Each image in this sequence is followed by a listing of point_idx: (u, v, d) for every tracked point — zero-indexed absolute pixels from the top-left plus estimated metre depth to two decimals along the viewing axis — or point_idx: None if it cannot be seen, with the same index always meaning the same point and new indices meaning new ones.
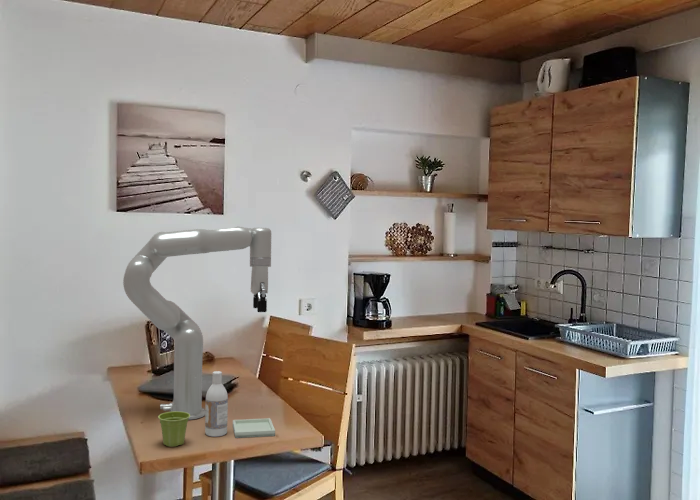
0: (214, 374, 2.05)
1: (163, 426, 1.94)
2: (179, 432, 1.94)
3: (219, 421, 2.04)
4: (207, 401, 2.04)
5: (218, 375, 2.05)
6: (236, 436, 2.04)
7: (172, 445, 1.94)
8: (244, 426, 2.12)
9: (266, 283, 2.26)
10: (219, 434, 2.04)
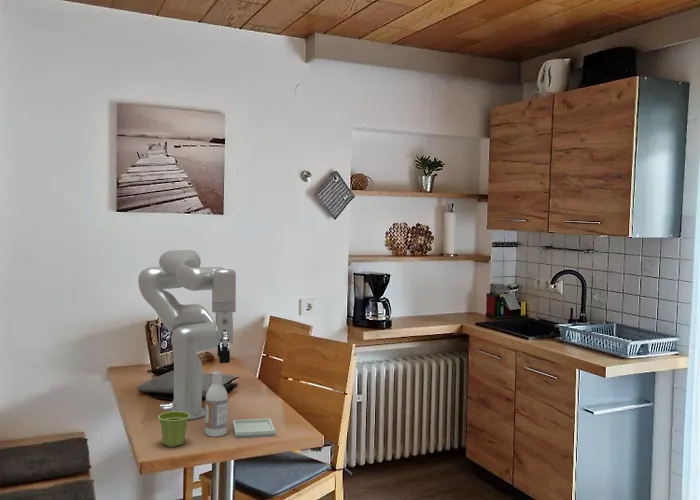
0: (214, 374, 2.05)
1: (163, 426, 1.94)
2: (179, 432, 1.94)
3: (219, 421, 2.04)
4: (207, 401, 2.04)
5: (218, 375, 2.05)
6: (236, 436, 2.04)
7: (172, 445, 1.94)
8: (244, 426, 2.12)
9: None
10: (219, 434, 2.04)
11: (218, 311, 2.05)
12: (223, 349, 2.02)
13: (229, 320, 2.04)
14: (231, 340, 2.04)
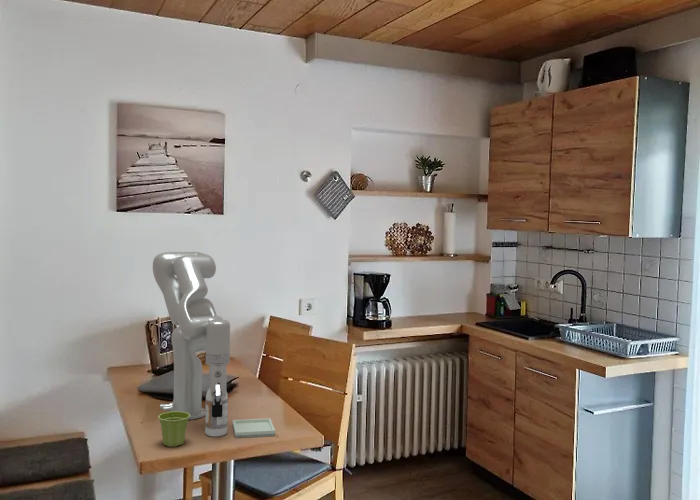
0: None
1: (163, 426, 1.94)
2: (179, 432, 1.94)
3: (219, 421, 2.04)
4: (207, 401, 2.04)
5: None
6: (236, 436, 2.04)
7: (172, 445, 1.94)
8: (244, 426, 2.12)
9: None
10: (219, 434, 2.04)
11: (211, 363, 2.02)
12: (216, 404, 2.01)
13: (222, 373, 2.02)
14: (224, 393, 2.02)
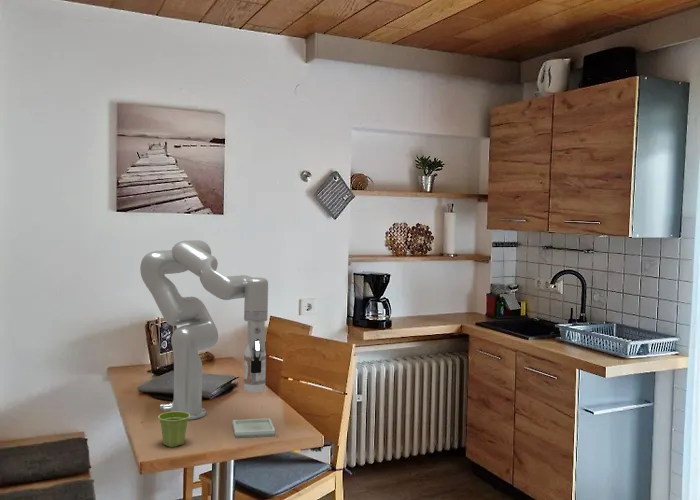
0: None
1: (163, 426, 1.94)
2: (179, 432, 1.94)
3: (258, 377, 2.07)
4: (246, 357, 2.07)
5: None
6: (236, 436, 2.04)
7: (172, 445, 1.94)
8: (244, 426, 2.12)
9: None
10: (258, 390, 2.07)
11: (250, 320, 2.06)
12: (255, 359, 2.05)
13: (261, 329, 2.05)
14: (263, 349, 2.05)
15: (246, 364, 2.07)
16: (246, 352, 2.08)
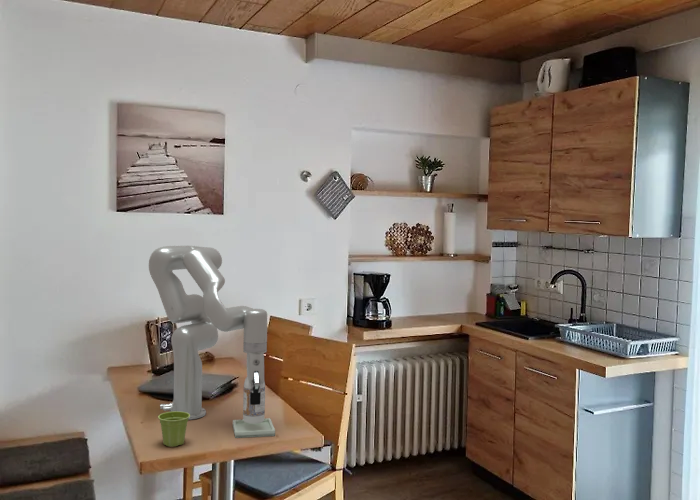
0: None
1: (163, 426, 1.94)
2: (179, 432, 1.94)
3: (257, 409, 2.08)
4: (245, 389, 2.08)
5: None
6: (236, 436, 2.04)
7: (172, 445, 1.94)
8: (244, 426, 2.12)
9: None
10: (257, 421, 2.08)
11: (250, 352, 2.06)
12: (254, 391, 2.05)
13: (260, 361, 2.06)
14: (262, 381, 2.06)
15: (245, 395, 2.08)
16: (245, 383, 2.08)
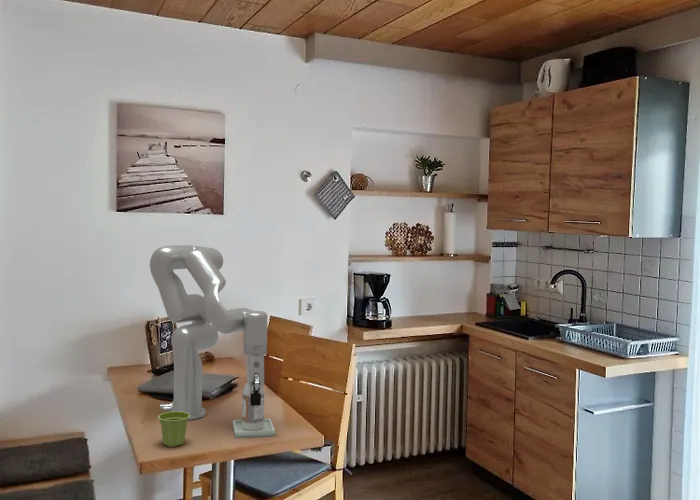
0: None
1: (163, 426, 1.94)
2: (179, 432, 1.94)
3: (256, 416, 2.08)
4: (244, 396, 2.08)
5: None
6: (236, 436, 2.04)
7: (172, 445, 1.94)
8: None
9: None
10: (256, 428, 2.08)
11: (250, 354, 2.06)
12: (254, 392, 2.04)
13: (260, 363, 2.06)
14: (262, 383, 2.06)
15: (244, 402, 2.08)
16: (244, 390, 2.09)
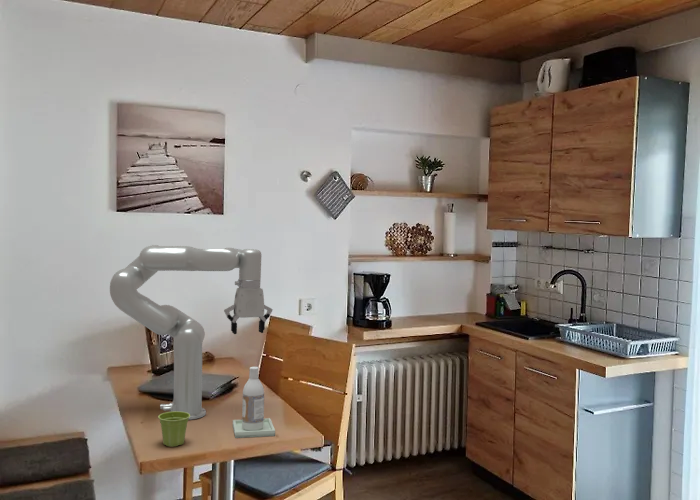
0: (251, 369, 2.09)
1: (163, 426, 1.94)
2: (179, 432, 1.94)
3: (256, 416, 2.08)
4: (244, 396, 2.08)
5: (255, 370, 2.09)
6: (236, 436, 2.04)
7: (172, 445, 1.94)
8: None
9: None
10: (256, 428, 2.08)
11: None
12: (230, 320, 2.24)
13: (237, 295, 2.23)
14: (236, 314, 2.22)
15: (244, 402, 2.08)
16: (244, 390, 2.09)
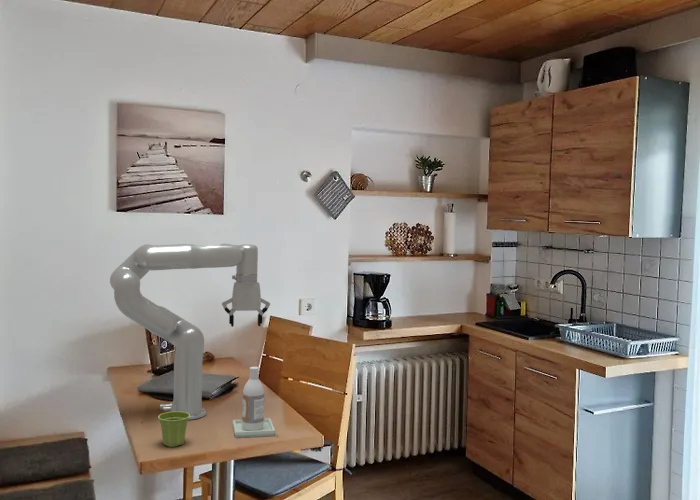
0: (251, 369, 2.09)
1: (163, 426, 1.94)
2: (179, 432, 1.94)
3: (256, 416, 2.08)
4: (244, 396, 2.08)
5: (255, 370, 2.09)
6: (236, 436, 2.04)
7: (172, 445, 1.94)
8: None
9: None
10: (256, 428, 2.08)
11: None
12: (228, 313, 2.32)
13: (233, 289, 2.30)
14: (232, 307, 2.30)
15: (244, 402, 2.08)
16: (244, 390, 2.09)
